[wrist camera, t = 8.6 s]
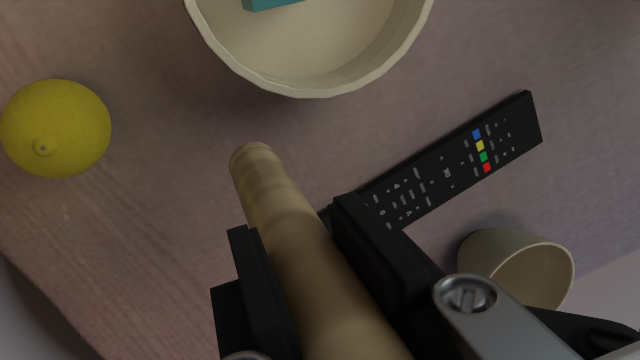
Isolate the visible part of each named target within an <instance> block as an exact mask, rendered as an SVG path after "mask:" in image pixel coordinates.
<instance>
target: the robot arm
mask: <svg viewBox="0 0 640 360" xmlns="http://www.w3.org/2000/svg"><path fill="white" fill-rule="evenodd" d="M328 212H329V217H330V223H331V228H332V233H333V239H334V240H335V242H336V243H337V245H338V246H339V248H340V249H341V251H342V252H343V254H344V255H345V256H346V258H347V259H348V261H349V262H350V264H351V265H352V267H353V268H354V270H355V271H356V273H357V274H358V276H359V277H360V279H361V280H362V282H363V283H364V284H365V286H366V287H367V289H368V290H369V292H370V293H371V295H372V296H373V298H374V299H375V301H376V302H377V304H378V305H379V307H380V308H381V309H382V311H383V312H384V314H385V315H386V317H387V318H388V320H389V321H390V323H391V324H392V326H393V327H394V329H395V330H396V332H397V333H398V334H399V336H400V337H401V339H402V340H403V342H404V343H405V345H406V346H407V348H408V349H409V351H410V352H411V354H412V355H413V357H414V358H415V360H640V330H639V332H637V331H636V330H634V329H632V328H630V327H628V326H626V325H623V324H621V323H617V322H613V321H609V320H605V319H599V318H593V317H588V316H582V315H577V314H571V313H566V312H560V311H555V310H549V309H543V308H538V307H532V306H527V305H522V304H521V303H520V302H519V301H517V300H516V299H515V298H514V297H513V296H512V295H511V294H510V293H508V292H507V291H506V290H505V289H504V288H503V287H502V286H501V285H499V284H498V283H497V282H495V281H494V280H492V279H491V278H489V277H486V276H484V275H481V274H476V273H470V272H466V273H455V274H451V275H448V276H447V275H446V274H445V273H444V272H443V271H442V270H441V269H440V268H439V267H438V266H437V265H436V264H435V263H434V262H433V261H432V260H431V259H430V258H429V257H428V256H427V255H426V254H425V253H424V252H423V251H422V250H421V249H420V248H419V247H418V246H417V245H416V244H415V243H414V242H413V241H412V240H411V239H410V238H409V237H408V236H407V235H406V234H405V233H404V232H403V231H402V230H401V229H400V228H399V227H395V228H392V229H389V228H388V227H387V226H386V225H385V224H384V223H383V222H382V221H381V220H380V219H379V217H378V216H377V215H376V214H375V213H374V212H373V211H372V210H371V209H370V208H369V207H368V206H367V205H366V204H365V203H364V202H363V200H362V199H361V198H360V197H359V196H358V195H357V194H356V193H355V192H354V191H353V192H350V193H346V194H343V195H340V196H336V197H334V198H333V203H332V204H328ZM226 231H227V235H228V239H229V243H230V246H231V250H232V254H233V258H234V262H235V266H236V270H237V274H238V278H239V279H237V280H234V281H231V282H228V283H225V284H222V285H219V286H216V287H213V288H210V294H211V301H212V308H213V314H214V321H215V328H216V334H217V341H218V348H219V354H220V360H303V358H302V354H301V350H300V346H299V342H298V339H297V335H296V331H295V327H294V324H293V321H292V318H291V315H290V312H289V309H288V307H287V304H286V301H285V299H284V296H283V294H282V291H281V289H280V286H279V283H278V281H277V278H276V276H275V273H274V271H273V268H272V265H271V263H270V260H269V258H268V255H267V252H266V250H265V247H264V245H263V242H262V240H261V237H260V234H259V232H258V229H257V227H254V228H251V229H248V226H247V224H245V225H242V226H238V227H235V228H232V229H228V230H226Z"/></svg>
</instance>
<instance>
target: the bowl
mask: <svg viewBox="0 0 640 360" xmlns="http://www.w3.org/2000/svg"><path fill="white" fill-rule="evenodd" d="M433 1H434V0H306V1H302V2H297V3H293V4H289V5H284V6H280V7H275V8H271V9H266V10H262V11H258V12H251V11H247V10H243V6H242V2H241V0H182V3H183V6H184V9H185V10H186V12H187V14H188V15H189V17H190V19H191V20H192V22H193V24H194V26H195V27H196V29H197V31H198V32H199V34H200V36H201V37H202V39H203V40H204V41H205V43H206V44H207V45H208V46H209V47H210V48H211V49H212V50H213V51H214V52H215V53H216V54H217V55H218V57H219V58H220V59H221V60H222V61H223V62H224V63H225V64H226V65H227V66H228V67H229V68H230V69H231V70H232V71H234V72H235V73H236V74H238V75H240V76H241V77H243V78H245V79H246V80H248V81H250V82H251V83H253V84H255V85H256V86H258V87H260V88H261V89H264V90H266V91H270V92H274V93H277V94H281V95H284V96H288V97H291V98H306V99H325V98H330V97H334V96H338V95H341V94H345V93H349V92H352V91H356V90H358V89H360V88H361V87H363V86H365V85H367V84H368V83H370V82H372V81H373V80H375V79H377V78H379V77H380V76H382V75H383V74H385V73H386V72H387V71H388V70H389V69H390V68H391V67H392V66H393V65H394V64H395V63H396V62H397V61H398V60H399V59H400V58H401V57H402V56H403V55H404V54H405V53H406V52H407V51H408V49H409V48H410V46H411V45H412V43H413V42H414V40H415V38H416V37H417V35H418V34H419V32H420V31H421V29H422V28H423V26H424V23H426V20H427V17H428V15H429V12H430V9H431V7H432V4H433Z"/></svg>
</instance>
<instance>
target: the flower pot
mask: <svg viewBox="0 0 640 360" xmlns="http://www.w3.org/2000/svg"><path fill="white" fill-rule="evenodd" d="M457 270H458V273H466V272H470V273H476V274H481V275H484V276H486V277H489V278H491V279H492V280H494V281H495V282H497V283H498V284H499V285H501V286H502V287H503V288H504V289H505V290H506V291H507V292H508V293H510V294H511V295H512V296H513V297H514V298H515V299H516V300H517V301H519V302H520V303H521V304H522V305H527V306H532V307H538V308H543V309H549V310H555V311H558V309H560V307H561V306H562V305H563V303H564V301H565V300H566V298H567V296H568V294H569V292H570V290H571V287H572V284H573V281H574V275H575V267H574V261H573V258H572V256H571V254H570V253H569V251H568V250H567V249H566V248H564V247H563V246H561V245H559V244H557V243H555V242H553V241H551V240H549V239H546V238H544V237H541V236H538V235H535V234H531V233H528V232H524V231H519V230H512V229H501V228H496V229H483V230H479V231H476V232H474V233H473V234H471V235H470V236H468V237H467V238H466V239H465V240H464V242H463V243H462V244H461V246H460V248H459V251H458V254H457Z"/></svg>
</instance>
